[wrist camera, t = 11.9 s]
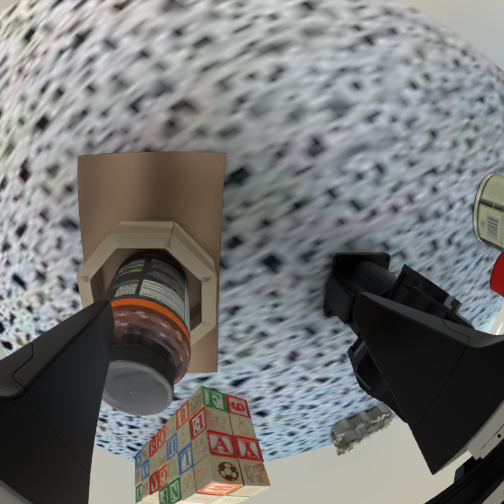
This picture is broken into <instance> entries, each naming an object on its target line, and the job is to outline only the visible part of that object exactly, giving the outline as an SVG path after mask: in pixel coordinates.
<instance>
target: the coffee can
mask: <svg viewBox="0 0 504 504" xmlns="http://www.w3.org/2000/svg"><path fill="white" fill-rule="evenodd" d="M473 226H474V232H475V235H476V237H477V239H478V240H479V241H480V242H482V243H485V244H487V245H490V246H492V247H493V248H496V249H498V250H499V251H502V252H504V177H503V176H499V175H496V174H494V173H491V174H488V175H487V176H486V177H485V178H484V179H483V181H482V183H481V184H480V187H479V189H478V192H477V195H476V199H475V204H474V212H473Z"/></svg>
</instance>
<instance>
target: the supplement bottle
mask: <svg viewBox="0 0 504 504" xmlns="http://www.w3.org/2000/svg"><path fill="white" fill-rule="evenodd" d="M102 300H109V301H110V302H111V306H112V311H113V316H114V321H115V328H114V335H113V342H112V349H111V357H110V364H109V369H108V373H107V377H106V382H105V386H104V391H103V395H102V400H103V401H104V402H105V403H107V404H108V405H110V406H111V407H113V408H115V409H117V410H119V411H121V412H125V413H128V414H132V415H141V416H142V415H153V414H156V413H159V412H161V411H163V410H165V409H166V408H167V407H168V406H169V405H170V404H171V402H172V399H173V394H174V385H175V384H176V383H177V382H179V381H180V380H181V379H182V378H183V377H184V375H185V374H186V372H187V370H188V368H189V365H190V358H191V342H190V317H189V306H190V304H191V303H190V304H189V289H188V281H187V277H186V275H185V272H184V270H183V269H182V267H181V266H180V265H179V264H178V263H177V262H176V261H175V260H174V259H172V258H171V257H169V256H167V255H166V254H163V253H160V252H156V251H143V252H138V253H136V254H133V255H131V256H130V257H128V258H127V259H126V260H125V261H124V262H123V263H122V264H121V265H120V267H119V268H118V270H117V272H116V274H115V276H114V277H113V279H112V281H111V283H110V285H109V287H108V289H107V291H106V293H105V295H104V297H103V299H102Z"/></svg>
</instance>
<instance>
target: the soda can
mask: <svg viewBox="0 0 504 504" xmlns="http://www.w3.org/2000/svg"><path fill="white" fill-rule="evenodd" d="M491 288H492V290H494V291H495V292H497V293H498V294H500V295H501V296H503V297H504V252H503V253H502V254H501V255H500V256H499V258H498V260H497V261H496V264H495V266H494V268H493V271H492V275H491Z"/></svg>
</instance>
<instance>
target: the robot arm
mask: <svg viewBox="0 0 504 504" xmlns="http://www.w3.org/2000/svg"><path fill="white" fill-rule="evenodd" d="M340 257H341V260H340V261H339V258H340ZM385 258H386V259H385ZM390 258H391V257H390V255H389V254H387V253H338V254H336V256H335V257H334V262H333V267H332V272H331V276H330V277H329V282H328V287H327V291H326V296H325V305H324V309H323V313H324V314H325V316H338V317H339V318H340V320H341V321H342V322H343V323H344V324H348V325H349V327H350V328H351V329H352V330H353V331H354V333H355V334H356V335H357V336H358V339H357V340H356V342H355V343H354V344H353V346H350V348H349V349H348V350H347V353H348V355H349V358H350V361H351V364H352V367H353V370H354V373H355V376H356V379H357V381H358V383H359V386H360V387H361V388H362V389H363V390H364V391H366V393H367V394H368V395H370V396H372V397H373V398H375V399H377V400H379V401H382V402H384V403H385V404H386V405H388V406H389V407H390V408H391V409H392V410H393V411H394V412H395V413H396V414H397V415H398V416H399V417H400V418H401V420H403V421H404V422H405V423H408V425H409V427H410V429H411V431H412V434H413V436H414V438H415V440H416V442H417V444H418V446H419V448H420V450H421V452H422V454H423V456H424V459H425V461H426V463H427V465H428V467H429V469H430V471H431V473H432V475H434V474H436V473H437V472H439V471H440V470H442V469H443V468H445V467H446V466H447V465H449V464H450V463H452V462H453V461H454V460H456V459H457V458H458V457H460V456H461V455H462V454H464V453H465V452H466V451H467V450H469V452H470V453H471V454H472V457H471V458H470V459H468V460H467V461H466V462H465V463H463V464H462V465H461V466H460V467H459V468H458V469H457V470H456V472H455V478H454V483H453V484H452V485H450V486H449V487H448V488H446V489H445V490H444V491H442V492H441V493H440V494H438V495H437V496H435V497H434V498H432V499H431V500H429V501H428V502H426V503H425V504H504V334H503V335H492V334H488V333H485V332H482V331H478V330H475V329H474V327H473V325H472V324H471V322H469V321H468V320H467V319H465V318H464V317H463V316H461V315H460V314H459V313H458V310H459V309H460V307H461V305H462V303H460V302H459V301H458V300H456V299H455V298H454V297H452V296H451V295H449V294H448V293H447V292H445V291H444V290H442V289H441V288H440V287H438V286H437V285H435V284H434V283H432V282H431V281H429V280H428V279H426V278H425V277H423V276H422V275H420V274H419V273H417V272H416V271H414V270H413V269H411V268H410V267H408V266H407V265H405V264H404V266H403V267H402V269H401V270H402V271H401V273H400V275H399V276H398V277H396V276H395V275H393V274H392V273H391V272H389V271H388V267H389V263H390ZM329 310H330V311H329ZM328 311H329V312H328ZM114 328H115V321H114V316H113V311H112V306H111V302H110V301H109V300H97V301H95V302H94V303H92V304H90V305H89V306H87V307H85V308H84V309H82V310H81V311H79V312H77V313H76V314H74V315H72V316H71V317H69V318H67V319H66V320H64V321H63V322H61V323H59V324H58V325H56V326H55V327H53V328H51V329H50V330H48V331H47V332H45V333H44V334H42V335H40V336H39V337H37V338H36V339H34V340H33V341H32V342H29V343H28V344H26V345H25V346H23V347H22V348H20V349H18V350H17V351H15V352H14V353H12V354H10V355H8V356H7V357H5V358H3V359H2V360H0V504H88V500H89V485H90V472H91V463H92V454H93V447H94V440H95V433H96V427H97V421H98V416H99V410H100V405H101V400H102V395H103V391H104V386H105V382H106V377H107V373H108V369H109V364H110V357H111V349H112V342H113V335H114Z"/></svg>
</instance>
